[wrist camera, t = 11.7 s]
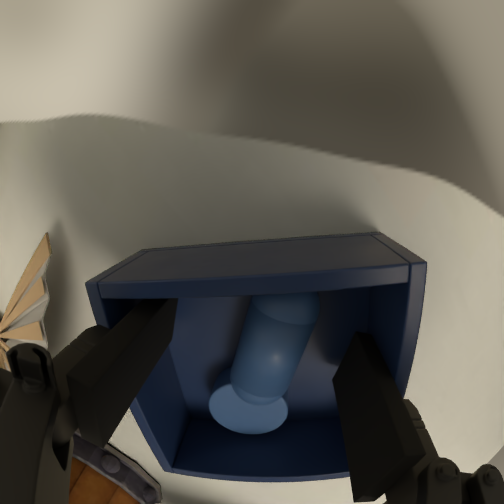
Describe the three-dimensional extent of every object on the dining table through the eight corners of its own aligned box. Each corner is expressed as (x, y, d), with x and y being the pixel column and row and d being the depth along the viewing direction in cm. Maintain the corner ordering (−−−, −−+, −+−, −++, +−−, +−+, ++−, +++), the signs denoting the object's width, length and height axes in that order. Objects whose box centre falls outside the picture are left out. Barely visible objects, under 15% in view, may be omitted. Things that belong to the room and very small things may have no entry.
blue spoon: (248, 251, 12) (238, 271, 9) (338, 275, 11) (351, 301, 9) (209, 404, 14) (197, 438, 12) (276, 421, 14) (273, 456, 11)
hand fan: (-14, 381, 19) (21, 505, 11) (-20, 380, 18) (15, 505, 10) (53, 196, 14) (118, 474, 6) (42, 191, 13) (97, 478, 5)
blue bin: (380, 231, 11) (428, 261, 7) (363, 413, 14) (377, 472, 9) (141, 249, 13) (84, 282, 8) (186, 417, 15) (164, 471, 11)
